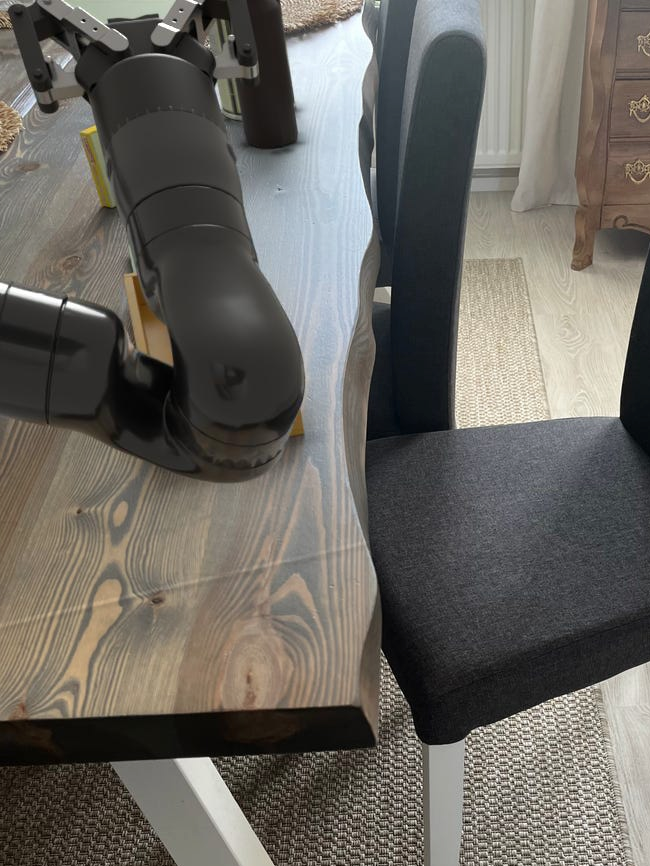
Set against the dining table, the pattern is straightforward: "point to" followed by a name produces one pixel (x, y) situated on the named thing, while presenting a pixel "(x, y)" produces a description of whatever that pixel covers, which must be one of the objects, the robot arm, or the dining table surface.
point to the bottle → (268, 82)
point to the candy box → (97, 165)
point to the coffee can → (229, 85)
